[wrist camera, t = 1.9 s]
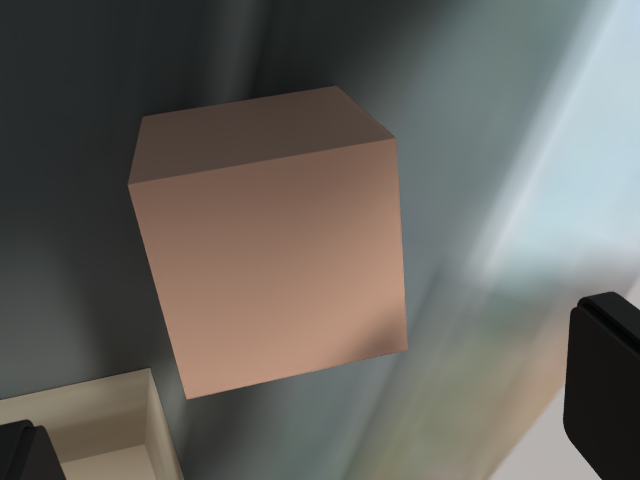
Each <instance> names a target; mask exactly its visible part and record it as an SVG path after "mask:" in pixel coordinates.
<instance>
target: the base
mask: <svg viewBox="0 0 640 480" xmlns="http://www.w3.org/2000/svg"><path fill="white" fill-rule="evenodd" d="M25 419H28V420H30V421H31V422H32V423H33V425H34V427H35V426H39V425H42V426H44V427H45V429H46V431H47V433H48V435H49V437H50V440H51V442H52V445H53V447H54V450H55V452H56V455H57V457H58V460H59V462H60V465H61V467H62V469H63V472H64V474H65V477H66V479H67V480H184V478H183V474H182V471H181V468H180V464H179V461H178V458H177V455H176V451H175V448H174V445H173V442H172V438H171V435H170V432H169V428H168V425H167V422H166V419H165V415H164V412H163V409H162V406H161V402H160V399H159V396H158V392H157V389H156V386H155V383H154V379H153V376H152V373H151V369H150V368H147V369H142V370H137V371H133V372H128V373H124V374H119V375H114V376H110V377H105V378H101V379H96V380H91V381H87V382H82V383H77V384H73V385H68V386H64V387H59V388H54V389H50V390H45V391H40V392H36V393H31V394H27V395H22V396H17V397H13V398H8V399H4V400H0V425H2V424H7V423H11V422H16V421H20V420H25Z"/></svg>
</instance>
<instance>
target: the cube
mask: <svg viewBox="0 0 640 480" xmlns="http://www.w3.org/2000/svg"><path fill="white" fill-rule="evenodd" d="M128 188H129V192H130V195H131V199H132V203H133V206H134V210H135V213H136V217H137V221H138V224H139V228H140V232H141V235H142V239H143V243H144V246H145V250H146V254H147V257H148V261H149V264H150V268H151V272H152V275H153V279H154V283H155V286H156V290H157V294H158V297H159V301H160V305H161V308H162V312H163V315H164V319H165V323H166V326H167V330H168V334H169V337H170V341H171V345H172V348H173V352H174V356H175V359H176V363H177V366H178V370H179V374H180V377H181V381H182V385H183V388H184V392H185V396H186V399H192V398H196V397H200V396H205V395H209V394H214V393H218V392H223V391H227V390H232V389H236V388H240V387H245V386H249V385H254V384H258V383H263V382H267V381H272V380H276V379H280V378H285V377H289V376H294V375H298V374H303V373H307V372H312V371H316V370H321V369H325V368H329V367H334V366H338V365H343V364H347V363H352V362H356V361H361V360H365V359H369V358H374V357H378V356H383V355H387V354H392V353H396V352H401V351H405V350H408V346H407V328H406V309H405V291H404V272H403V254H402V235H401V217H400V198H399V180H398V161H397V143H396V137H395V136H394V135H392V134H391V133H390V132H389V131H388V130H387V129H386V128H384V127H383V126H382V125H381V124H380V123H379V122H378V121H376V120H375V119H374V118H373V117H372V116H371V115H370V114H368V113H367V112H366V111H365V110H364V109H363V108H362V107H360V106H359V105H358V104H357V103H356V102H355V101H354V100H352V99H351V98H350V97H349V96H348V95H347V94H346V93H344V92H343V91H342V90H341V89H340V88H339V87H338V86H331V87H325V88H318V89H312V90H306V91H299V92H293V93H287V94H281V95H274V96H268V97H262V98H256V99H249V100H243V101H237V102H230V103H224V104H218V105H212V106H205V107H199V108H193V109H187V110H180V111H174V112H168V113H161V114H155V115H149V116H143V117H142V121H141V126H140V130H139V135H138V140H137V144H136V149H135V153H134V158H133V162H132V167H131V172H130V176H129V181H128Z"/></svg>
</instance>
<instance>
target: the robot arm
mask: <svg viewBox="0 0 640 480" xmlns="http://www.w3.org/2000/svg"><path fill="white" fill-rule="evenodd" d="M563 424H564V429H565V432H566V434H567V436H568V438H569V439H570V441H571V442H572V444H573V445H574V446H575V447H576V448H577V450H578V451H579V452H580V453H581V455H582V456H583V457H584V458H585V460H586V461H587V462H588V463H589V464H590V466H591V467H592V468H593V469H594V471H595V472H596V473H597V474H598V476H599V477H600V478H601V479H602V480H640V310H639V309H637V308H636V307H635V306H634V305H632V304H631V303H630V302H628V301H627V300H626V299H624V298H623V297H622V296H620V295H619V294H617V293H615V292H606V293H601V294H597V295H592V296H588V297H583V298H581V299H580V300H579V302H578V304H577V307H575V308H573V309H572V311H571V314H570V325H569V340H568V355H567V369H566V384H565V399H564V413H563ZM0 480H67V479H66V477H65V474H64V472H63V469H62V467H61V465H60V462H59V460H58V457H57V455H56V452H55V450H54V447H53V445H52V442H51V440H50V437H49V435H48V433H47V431H46V429H45V427H44V426H42V425H39V426H35V427H34V425H33V423H32V422H31V421H30V420H28V419H25V420H20V421H16V422H11V423H7V424H2V425H0Z"/></svg>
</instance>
